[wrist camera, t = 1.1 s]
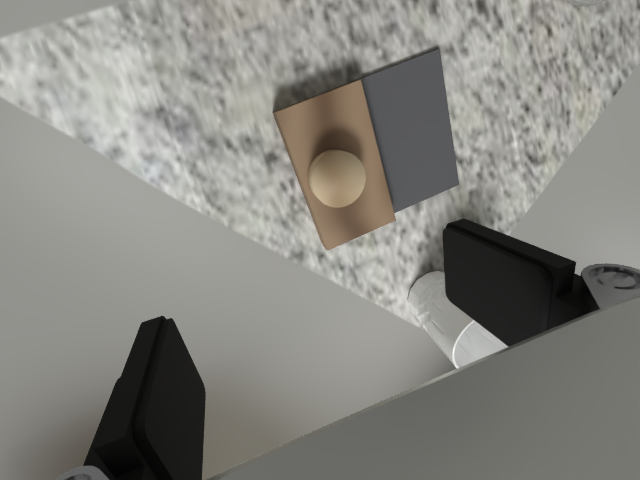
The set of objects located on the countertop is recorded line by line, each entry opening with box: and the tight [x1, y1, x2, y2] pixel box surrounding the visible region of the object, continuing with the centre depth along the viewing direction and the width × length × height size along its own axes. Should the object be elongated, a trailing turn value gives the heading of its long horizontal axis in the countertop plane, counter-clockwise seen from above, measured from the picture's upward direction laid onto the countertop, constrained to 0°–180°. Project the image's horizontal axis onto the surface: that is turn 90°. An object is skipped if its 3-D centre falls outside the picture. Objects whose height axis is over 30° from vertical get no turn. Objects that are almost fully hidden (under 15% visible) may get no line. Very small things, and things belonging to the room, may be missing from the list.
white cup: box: [408, 271, 508, 369], centre depth 37 cm, size 8×8×10 cm
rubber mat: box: [356, 49, 459, 213], centre depth 33 cm, size 9×14×1 cm, turn 19°
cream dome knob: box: [307, 149, 366, 208], centre depth 29 cm, size 5×5×2 cm
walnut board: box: [273, 80, 396, 250], centre depth 31 cm, size 8×14×2 cm, turn 19°
